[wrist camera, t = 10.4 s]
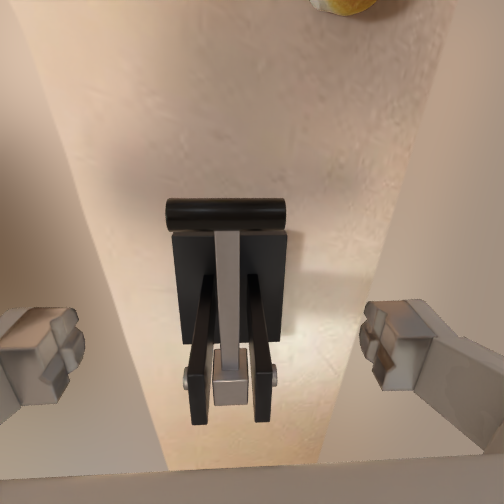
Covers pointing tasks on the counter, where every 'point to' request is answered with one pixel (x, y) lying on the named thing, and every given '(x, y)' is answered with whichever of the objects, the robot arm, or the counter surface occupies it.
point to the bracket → (250, 311)
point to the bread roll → (342, 6)
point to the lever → (227, 273)
